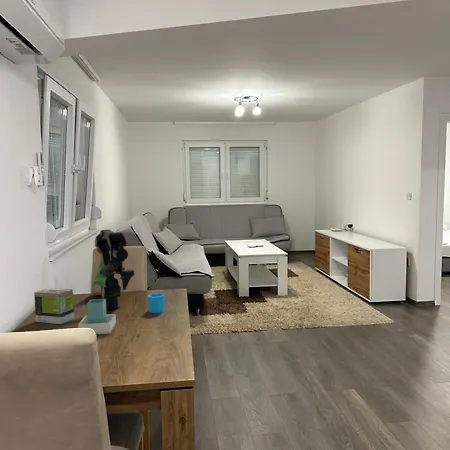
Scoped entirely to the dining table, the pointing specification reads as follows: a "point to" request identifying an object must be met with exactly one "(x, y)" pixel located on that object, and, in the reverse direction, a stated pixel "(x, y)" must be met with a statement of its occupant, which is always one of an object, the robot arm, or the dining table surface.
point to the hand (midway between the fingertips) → (117, 289)
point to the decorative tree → (100, 277)
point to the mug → (156, 303)
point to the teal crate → (96, 311)
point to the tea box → (54, 305)
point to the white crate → (100, 324)
